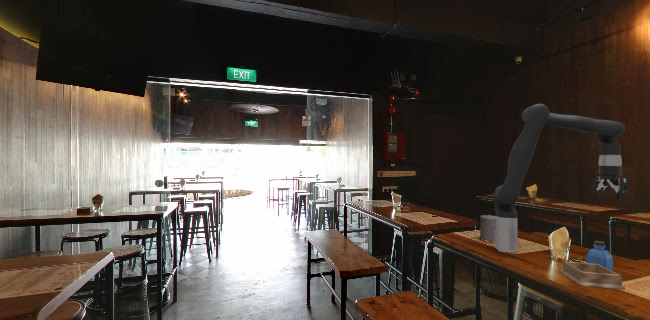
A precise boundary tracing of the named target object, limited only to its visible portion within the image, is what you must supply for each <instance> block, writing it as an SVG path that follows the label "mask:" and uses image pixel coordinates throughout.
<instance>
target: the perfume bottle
mask: <svg viewBox="0 0 650 320" xmlns="http://www.w3.org/2000/svg"><path fill="white" fill-rule="evenodd" d="M585 255H586V256H585V257H586V260H585V261H586V262H585V263H590V264H599V265H601V266H603V267H605V268H607V269H609V270H611V271H613V272H614V257H613V255H612V254H611V253H610V251H609V250H606V245H605V242H604V241H600V240H594V243H593V248H591V249H590V250H589V251H588V252H587V253H586V254H585Z"/></svg>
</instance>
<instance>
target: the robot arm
mask: <svg viewBox="0 0 650 320" xmlns="http://www.w3.org/2000/svg"><path fill="white" fill-rule="evenodd" d="M549 109H550V108H548V106H547V105H546V104H544V103H536V104H533V105H531V106H528V107H527V108H525V109H524V110H523V111H522V113H521V120H522V121H523V122H525V123H524V126H523V129H522V131H521V134H519V136H518V138H517V139H516V141H515V142H514V143H513V146H512V148H511V150H510V154H509V157H508V161H507V172H506V173H507V174H506V177H505V179H504V181H503V183H502V184H501V185H498V186H497V187H496V188H495V190H494V195H493V196H494V199H493V201H494V211H495V216H496V230H494V242H495V243H494V249H495V248H496V249H497V250H496V249H495V250H496V251H498V252H501V253H506V252H507V254H517V253H518V211H517V209H516V203H517V201H518V200H519V198H520V195H521V190H522V186H523V183H524V179H525V177H526V174H527V172H528V169H529V167H530V164H531V161H532V159H533V156H534V153H535V150H536V147H537V144H538V141H539V138H540V135H541V132H542V131H543V128H544V127H545V126H550V127H551V126H552V127H555V128H556V127H557V128H561V129H566V130H571V131H575V132H581V133H585V134H596V139H597V142H598V145H599V157H598V175H600V176H593V184H592V185H593V186H592V188H593V189H595V190H596V191H597V199H604V198H605V191H604V190H605V189H606V188H609V187H610V188H612V189H614V191H615V198H614V199H615V201H616V202H622V201H623V198H624V197H623V196H624V193H628V192H629V180H628V178H624V177H620V176H622V174H623V173H622V171H623V170H622V169H623V167H622V166H623V165H622V164H623V163H622V146H621V144H620V143H619V142H617V141H616V138H617V137H619V136H621V135H624V133H625V132H626V127H625V125H624V124H623V123H622V122H621V121H616V120H610V119H609V120H608V119H597V118H592V117H587V116H582V115H574V114H572V115H571V114H561V113H560V114H559V113H553V112H550V110H549Z"/></svg>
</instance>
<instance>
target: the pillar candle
mask: <svg viewBox="0 0 650 320" xmlns="http://www.w3.org/2000/svg"><path fill="white" fill-rule="evenodd" d="M479 217H480V218H479V226H480V227H479V228H480V229H479V239H480V238H481V239H483V240H487V241H494V230H496V215H495V216H494V215H491V214H488V215H487V214H485V215H480V216H479Z"/></svg>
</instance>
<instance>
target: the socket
mask: <svg viewBox="0 0 650 320" xmlns="http://www.w3.org/2000/svg"><path fill="white" fill-rule="evenodd" d="M560 273H562V274H563V275H565V276H566V277H568V278H569V279H571V280H573V282H575V283H576V284H579V285H580V286H582V287H583V286H585V287H595V288H598V287H599V288H608V289H617V290H625V289H626V287H625V285H623V275H621V274H619V273H618V272H615V271H614V270H613V271H611V270H609V269H607V268H605V267H603V266H601V265H599V264H590V263H586V262H574V261H562V269H560Z"/></svg>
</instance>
